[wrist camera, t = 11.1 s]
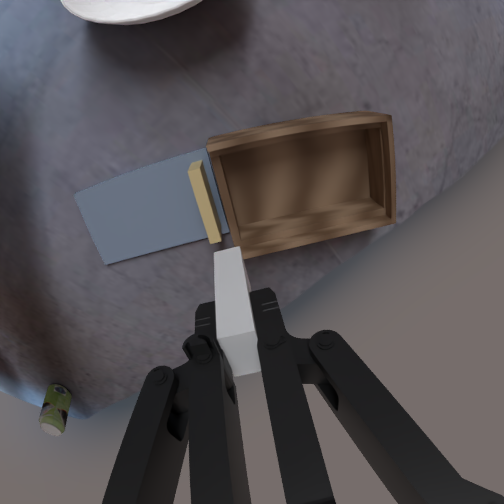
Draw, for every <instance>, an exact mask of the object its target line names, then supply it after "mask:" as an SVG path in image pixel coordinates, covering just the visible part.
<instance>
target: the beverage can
mask: <svg viewBox="0 0 504 504" xmlns="http://www.w3.org/2000/svg"><path fill="white" fill-rule="evenodd" d="M70 402H71V394H70V393H69V391H68V390H67V389H66V388H64V387H63V386H61V385H57V384H53V385H50V386H49V387H48V389H47V392H46V396H45V399H44V402H43V406H42V410H41V414H40V417H39V422H40V427H41V429H42V430H43V431H45V432H46V433H48V434H50V435H54V436H60V435H61V434H62V433H63V432H64V430H65V425H66V421H67V416H68V411H69V407H70Z"/></svg>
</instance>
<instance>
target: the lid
mask: <svg viewBox="0 0 504 504" xmlns="http://www.w3.org/2000/svg"><path fill="white" fill-rule="evenodd" d="M74 197H75V200H76V202H77V205H78V207H79V209H80V212H81V214H82V216H83V219H84V221H85V223H86V226H87V228H88V230H89V232H90V234H91V237H92V239H93V241H94V243H95V245H96V247H97V249H98V251H99V253H100V255H101V257H102V259H103V261H104V263H105V265H107V264H111V263H114V262H118V261H121V260H125V259H129V258H132V257H136V256H140V255H143V254H147V253H151V252H155V251H158V250H162V249H166V248H170V247H173V246H177V245H181V244H185V243H189V242H193V241H197V240H200V239H204V238H209V241H210V244H213V243H217V242H221V234H224V233H228V232H229V227H228V224H227V220H226V217H225V213H224V210H223V206H222V203H221V199H220V195H219V192H218V188H217V185H216V181H215V178H214V174H213V171H212V167H211V163H210V160H209V156H208V152H207V149H206V148H204V149H200V150H197V151H193V152H190V153H186V154H183V155H180V156H176V157H173V158H170V159H167V160H163V161H160V162H157V163H154V164H151V165H148V166H145V167H142V168H139V169H137V170H134V171H131V172H128V173H125V174H123V175H120V176H117V177H115V178H112V179H109V180H107V181H104V182H102V183H99V184H97V185H94V186H92V187H89V188H87V189H84V190H82V191H80V192H77V193H75V194H74Z"/></svg>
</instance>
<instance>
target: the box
mask: <svg viewBox="0 0 504 504" xmlns="http://www.w3.org/2000/svg"><path fill="white" fill-rule="evenodd" d="M206 147H207V151H208V152H209V154H210V157H211V161H212V165H213V169H214V172H215V176H216V180H217V184H218V187H219V191H220V195H221V199H222V202H223V206H224V210H225V213H226V217H227V221H228V224H229V228H230V232H231V235H232V239H233V242H234V246H235V247H238V246H240V249H241V253H242V256H243V259H247V258H252V257H256V256H260V255H264V254H269V253H273V252H277V251H281V250H286V249H290V248H294V247H298V246H303V245H307V244H311V243H315V242H319V241H324V240H328V239H332V238H336V237H340V236H344V235H349V234H353V233H357V232H361V231H365V230H369V229H374V228H378V227H382V226H386V225H390V224H394V223H396V171H395V151H394V137H393V126H392V116H391V115H388V114H382V113H376V112H370V111H356V112H346V113H338V114H329V115H322V116H315V117H308V118H301V119H295V120H289V121H283V122H278V123H273V124H267V125H262V126H257V127H253V128H248V129H243V130H239V131H235V132H230V133H226V134H222V135H218V136H214V137H210V138H209V139H208V142H207V145H206Z"/></svg>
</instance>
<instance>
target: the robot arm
mask: <svg viewBox="0 0 504 504" xmlns="http://www.w3.org/2000/svg"><path fill="white" fill-rule="evenodd" d="M214 276H215V301H212V302H208V303H203V304H200V305H199V307H198V308H197V310H196V312H195V334H193V335H191V336H190V337H188V338H187V339H186V340H185V342H184V343H183V346H182V348H183V350H184V352H185V354H186V355H187V357H188V359H189V361H188V362H186V363H185V364H183V365H181V366H179V367H177V368H175V369H173V370H172V369H171V368H170V367H167V366H158V367H156V368H154V369H152V370H151V371H150V372H149V373H148V375H147V377H146V379H145V382H144V384H143V387H142V389H141V392H140V395H139V397H138V400H137V403H136V405H135V408H134V411H133V413H132V416H131V419H130V421H129V424H128V427H127V430H126V433H125V435H124V438H123V441H122V444H121V447H120V449H119V453H118V455H117V458H116V461H115V464H114V467H113V470H112V473H111V476H110V479H109V483H108V486H107V489H106V492H105V495H104V498H103V502H102V504H173V501H174V497H175V493H176V489H177V485H178V481H179V476H180V472H181V468H182V464H183V459H184V456H185V452H186V448H187V444H188V440H189V463H190V465H189V466H190V488H191V504H251V498H250V492H249V485H248V478H247V471H246V464H245V457H244V449H243V441H242V434H241V426H240V418H239V410H238V401H237V393H236V386H235V384H234V382H233V377H232V373H233V375H234V377H237V376H242V375H246V374H251V373H256V372H260V371H261V372H262V377H263V382H264V388H265V393H266V399H267V404H268V409H269V415H270V420H271V426H272V431H273V436H274V441H275V447H276V452H277V457H278V462H279V468H280V473H281V478H282V483H283V488H284V493H285V498H286V503H287V504H336V502H335V499H334V496H333V492H332V489H331V485H330V481H329V477H328V474H327V470H326V467H325V463H324V459H323V456H322V452H321V448H320V445H319V442H318V438H317V434H316V430H315V427H314V424H313V420H312V416H311V413H310V409H309V406H308V402H307V399H306V395H305V392H304V388H303V385H302V384H314V385H315V386H316V388H317V389H318V391H319V392H320V394H321V395H322V396H323V398H324V400H325V401H326V402H327V404H328V405H329V407H330V408H331V410H332V411H333V413H334V414H335V416H336V417H337V418H338V420H339V421H340V423H341V424H342V425H343V427H344V428H345V430H346V431H347V433H348V434H349V436H350V437H351V438H352V440H353V441H354V443H355V444H356V446H357V447H358V449H359V450H360V451H361V453H362V454H363V456H364V457H365V458H366V460H367V461H368V463H369V464H370V466H371V467H372V468H373V470H374V471H375V472H376V474H377V475H378V477H379V478H380V479H381V481H382V482H383V483H384V485H385V486H386V488H387V489H388V491H389V492H390V493H391V495H392V496H393V497H394V499H395V500H396V501H397V503H398V504H504V497H503V496H502V495H500V494H497V493H495V492H493V491H490V490H488V489H485V488H483V487H481V486H478V485H476V484H474V483H472V482H470V481H467V480H465V479H463V478H462V477H461V476H460V475H459V474H458V473H457V471H456V470H455V469H454V468H453V467H452V465H451V464H450V463H449V462H448V461H447V460H446V458H445V457H444V456H443V455H442V454H441V452H440V451H439V450H438V449H437V447H436V446H435V445H434V444H433V443H432V442H431V440H430V439H429V438H428V437H427V436H426V434H425V433H424V432H423V431H422V430H421V429H420V427H419V426H418V425H417V424H416V423H415V421H414V420H413V419H412V418H411V417H410V415H409V414H408V413H407V412H406V411H405V410H404V409H403V407H402V406H401V405H400V404H399V403H398V401H397V400H396V399H395V398H394V397H393V396H392V394H391V393H390V392H389V391H388V390H387V389H386V387H385V386H384V385H383V384H382V383H381V382H380V380H379V379H378V378H377V377H376V376H375V375H374V374H373V372H371V370H370V369H369V368H368V367H367V365H366V364H365V363H364V362H363V361H362V360H361V359H360V357H359V356H358V355H357V354H356V353H355V352H354V351H353V350H352V348H351V347H350V346H349V345H348V344H347V342H346V341H345V340H344V339H343V338H342V337H341V336H340V335H339V334H338V333H337V332H335V331H332V330H322V331H319V332H317V333H315V334H314V335H313V336H312V337H311V339H301V338H296V337H293V336H291V335H289V333H288V332H287V331H286V329H285V326H284V322H283V319H282V315H281V312H280V309H279V305H278V302H277V299H276V295H275V293H274V292H273V291H272V290H271V289H270V288H264V289H260V290H256V291H252V292H251V287H250V282H249V279H248V275H247V271H246V268H245V264H244V260H243V256H242V253H241V249H240V246H238V247H234V248H230V249H226V250H222V251H218V252H214Z"/></svg>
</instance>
